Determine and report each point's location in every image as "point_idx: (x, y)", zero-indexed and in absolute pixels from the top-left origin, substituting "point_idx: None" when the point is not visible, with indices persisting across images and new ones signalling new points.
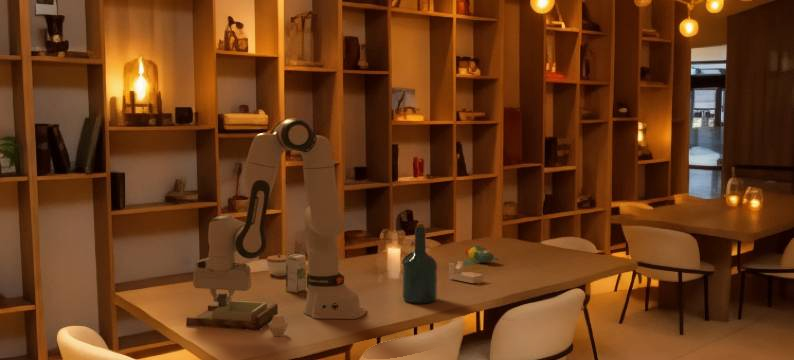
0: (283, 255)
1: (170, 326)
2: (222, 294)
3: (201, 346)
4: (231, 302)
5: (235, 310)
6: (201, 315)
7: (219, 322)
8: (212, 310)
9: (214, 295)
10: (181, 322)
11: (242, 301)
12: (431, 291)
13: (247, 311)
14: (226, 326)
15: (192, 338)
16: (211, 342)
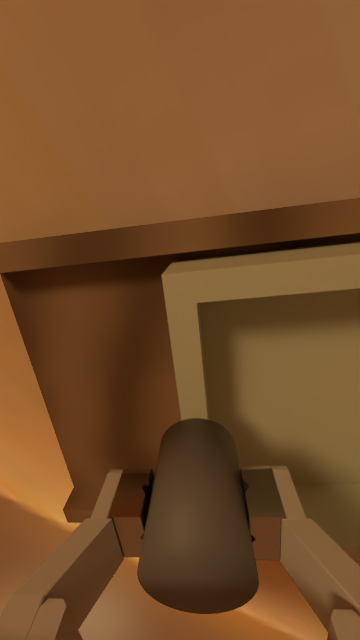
0: None
1: (37, 508)
2: (204, 589)
3: (288, 633)
4: (197, 297)
5: (243, 299)
6: (60, 393)
7: None
8: (40, 277)
9: (109, 577)
10: (33, 459)
11: (329, 272)
12: None
13: (355, 293)
14: None
15: None
16: (304, 607)
